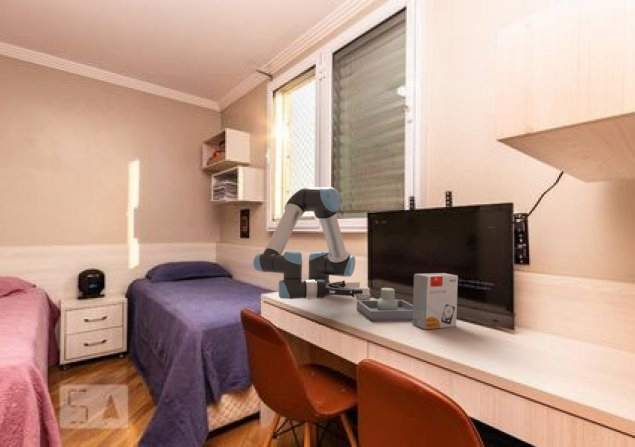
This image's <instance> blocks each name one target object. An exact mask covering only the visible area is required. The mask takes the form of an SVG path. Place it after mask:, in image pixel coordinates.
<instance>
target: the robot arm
mask: <svg viewBox="0 0 635 447" xmlns="http://www.w3.org/2000/svg"><path fill="white" fill-rule="evenodd" d="M340 201H341V196H340V194H339V191H338V190H337V189H336V188H334V187H332V186H322V187H318V186H317V187H303V188H301V189H299V190H297V191H296V192H294V193H293V195H291V197H289V199H288V200H287V202H286V204H285V205H284V207H283V208H284V211H283V214H282V216H281V218H280V219H279V222H278V224H277V226H276V228H275V230H274V231H273V233H272V236H271V237H270V239H269V241H268V243H267V244H266V246H265V249H264V251H263V253H258V254H257V255H255V256H254V258H253V264H252V265H253V268H254V269H255V270H256V271H258V272H263V273H274V274H275V273H276V274H283V279H282V280H279V281H278V289H277V290H278V297H279V298H280V299H286V300H292V299H293V300H295V299H307V300H310V299H315V298H316V299H324V298H326V296H328V295H330V296H345V297H352V298H356V297H355V295H370V294H371V291H370V290H371V289H370V287H361V284H360V281H349V282H348V281H345V280H342V281H335V282H331V281H330V276H332V277H352V276H353V274H354V271H355V269H356V268H355V267H356V257H355V255H351V254H350V251H349V250H348V248H346V247H345V244H344V243H345V242H344V239H343V235H342V232H341V228H340V224H339V220H338V216H337V213H338V212H339V209H340V207H341V202H340ZM306 212H313V213H314V216H315V217H316V219H319V222H320V226H321V228H322V232H323V235H324V239H325V241H326V242H325V243H326V246H327V249H328V251H320V252H311V253H309V255H308V279H303V278H302V275H303V274H302V272H303V257H302V254H303V253H302V252H301V251H295V250H292V251H291V250H288V251H284V250H285V248H286V246H287V244H288V242H289V239H290V238H291V235H292V234H293V231H294V228H296V224H297V223H298V220H299V218H302V217H303V215H304V213H306ZM283 252H284V253H283Z"/></svg>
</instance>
